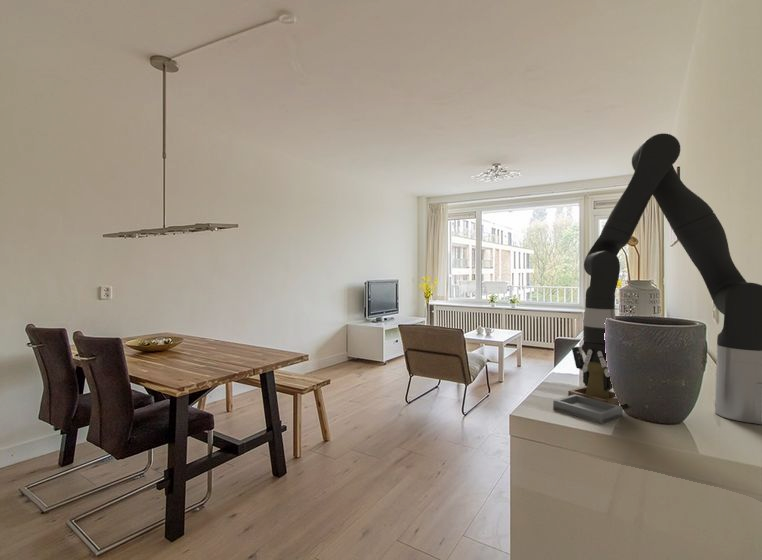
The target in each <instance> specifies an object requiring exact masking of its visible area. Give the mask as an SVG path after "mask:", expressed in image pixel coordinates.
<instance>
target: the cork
mask: <svg viewBox="0 0 762 560" xmlns="http://www.w3.org/2000/svg"><path fill="white" fill-rule="evenodd" d="M587 369H588V371H589V378H588V384H587V390H586V395H590V396H594V397H598V398H602V399H606V400H607V399H609V393H608V391H605V390H604V377H606V376H605V373H604V372H605V369H604V368H602V366H601V363H599V362H591V361H590V362H589V364H588V366H587Z"/></svg>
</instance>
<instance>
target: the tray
mask: <svg viewBox="0 0 762 560" xmlns="http://www.w3.org/2000/svg"><path fill="white" fill-rule="evenodd" d="M555 409H556V410H555ZM553 410H555V411H558V410H559V411H558V412H562V413H565V414H569V415H571V416H576V417H578V418H581V419H583V420H584V419H585V420H588V421H592V422H594V423H597V424H600V425H603V424H606V423H608V422H610V421H613V420H617V419H618V417H619V418H621V417H623V406H617V405H613V404H609V403H606V402H602V401H598V400H594V399H590V398H587V397H583V396H579V395H575V394H574V395H570V396H568V395H567V396H564V397H561V398H558V399H553ZM620 416H621V417H620Z"/></svg>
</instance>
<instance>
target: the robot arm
mask: <svg viewBox="0 0 762 560" xmlns="http://www.w3.org/2000/svg"><path fill="white" fill-rule="evenodd" d="M680 153H681V144H680V141H679V140H678V138H677V137H676V136H674V135H672V134H670V133H666V132H665V133H664V132H663V133H656V134H655V135H652V136H650V137H648V138H646V140H644V141H643V142H642V143H641V144H640V145H639V146H638V147H637V149H636V150H635V151H634V153H633V154H632V157H631V166H632V169H633V170H634V173H633V175H632V177H631V179H630V181H629V182H628V184H627V186H626V188H625V190H624V192H622V195H621V196H620V198H619V199H618V201H617V202H616V204H615V206H614V207H613V209H612V210H611V212H610V215H608V218H607V220H606V222H605V224H604V226H603V228H602V230H601V231H600V232H601V233H600V235H599V236H598V238H596V241H594V243H593V245H592V247H591V248H590V249H589V251H588V252H587V255H586V256H585V259H584V262H583V269H584V271H585V273H586V274H587V275H588V276H590V280H589V286H588V287H587V289H586V291H585V300H584V301H585V302H584V305H585V306H584V307H585V308H584V315H583V320H582V323H583V331H582V332H583V333H582V334H583V336H582V339H583V344H582V345H581V346H573V347H572V349H571V351H572V355H573V359H574V364H575V367H576V369H578V370H581V371H582V374H583V376H582V382H583V384H584V386H587V384H588V378H589V371H588V369H587V366H588V364H589V362H590V361H591V362H599V363H601V366H602V368H604V369H605V372H604V373H605V376H606V377H604V390H605V391H612V389H613V388H614V386H613V387H612V384H611V381H610V376H609V372H608V367H607V361H606V353H605V340H604V333H605V324H604V323H605V320H606V318H612V319H616V310H615V309H616V290H617V287H618V282H619V277H620V272H621V263H620V259H619V257H618V254H619V252H620V251H621V249H623V248H624V247H626V246H627V245H628V243H629V242H630V240H631V238H632V237H633V235H634V232H635V230H636V228H637V226H638V224H639V223H640V220H641V218H642V216H643V215H644V212H645V210H646V208H647V206H648V204H649V201H650V200H651V198H652V197H653V198H654V199H655V202H656V203H657V205H658V206H659V209H661V211H662V213H663V215H664V217H665V219H666V220H667V223H668V224H669V226H670V228H671V230H672V231H673V233H674V235H675V237H676V238H677V240H678V242H679V243H680V245H681V246H682V247H683V249H684V250H685V252H686V254H687V255H688V257H689V258H690V261H692V263H693V265H694V266H695V267H696V269H697V270H698V272H699V274H700V276H701V277H702V280H703V281H704V283H705V285H706V288H707V290H708V292H709V295H710V297H711V301H712V302H713V303H714V306H715V308H716V309H717V311H719V312H720V313H721V314H723V327H722V329H721V331H720V332H719V333H718V334H717V336H716V337H717V338H716V339H717V340H716V368H715V393H714V394H715V395H714V398H715V399H714V412H715V414H717V416H721V417H723V418H726V419H729V420H733V421H738V422H743V423H748V424H749V423H751V424H757V425H762V284H759V283H756V282H750V281H749V282H748V281H747V280H746V279H745V278H744V276H743V275H742V274H741V272H740V271H739V269H738V268H737V266H736V265H735V263H734V261H733V259H732V256H731V252H730V248H729V242H728V238H727V234H726V232H725V228H724V227H723V225H722V223H721V221H720V219H719V218H718V217H717V215H716V214H715V212H714V210H713V209H712V207H711V206H710V205H709V204H708V203H707V201H705V200H704V199H703V198H702V197H700V196H699V195H698V194H696V193H695V192H693V191H692V190H691V189H689V188H688V187H687V185H686V184H684V182H683V181H682V180H681V178H680V177H679V174H678V173H677V172H676V169H675V167H674V164H675V163H676V161H677V160H678V159H679V157H680ZM616 320H617V319H616ZM583 353H584V355H585V359H584V357H583V356H584V355H583Z"/></svg>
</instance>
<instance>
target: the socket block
mask: <svg viewBox="0 0 762 560" xmlns="http://www.w3.org/2000/svg"><path fill="white" fill-rule="evenodd" d="M586 390H587V386H585V385H584V386H582V387H577V388H573V389H569V390H568V395H567V396H570V395H574V394H575V395H579V396H583V397H587V398H590V399H594V400H598V401H602V402H606V403H609V404H613V405H617V406H619V402H618V399H617V398H616V396H615V393H614V392H615V391H612V390H610V391H608V393H609V399H607V400H606V399H602V398H598V397H594V396H590V395H586Z"/></svg>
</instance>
